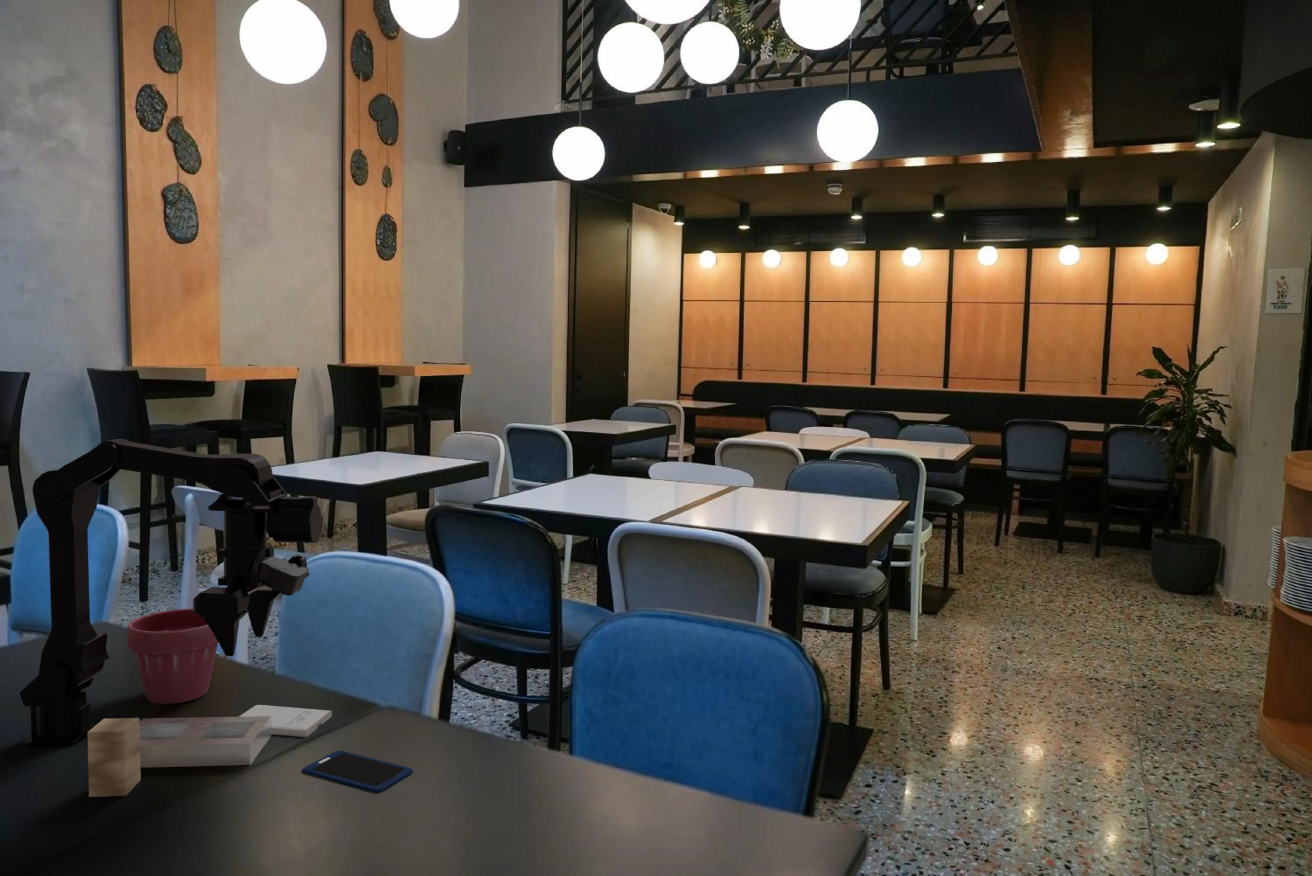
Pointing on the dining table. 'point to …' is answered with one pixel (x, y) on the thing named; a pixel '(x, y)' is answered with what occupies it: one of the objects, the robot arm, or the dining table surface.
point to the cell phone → (358, 771)
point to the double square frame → (202, 740)
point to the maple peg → (114, 757)
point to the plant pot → (173, 654)
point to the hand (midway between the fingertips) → (245, 645)
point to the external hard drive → (291, 719)
